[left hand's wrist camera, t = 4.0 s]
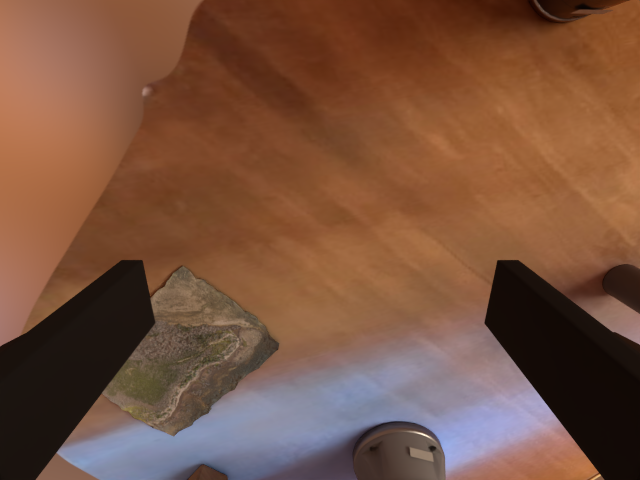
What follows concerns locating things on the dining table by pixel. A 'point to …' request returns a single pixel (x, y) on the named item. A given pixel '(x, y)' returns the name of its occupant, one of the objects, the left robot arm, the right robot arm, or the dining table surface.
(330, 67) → the dining table surface
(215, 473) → the decorative block
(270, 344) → the slab
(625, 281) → the bottle
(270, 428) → the dining table surface
